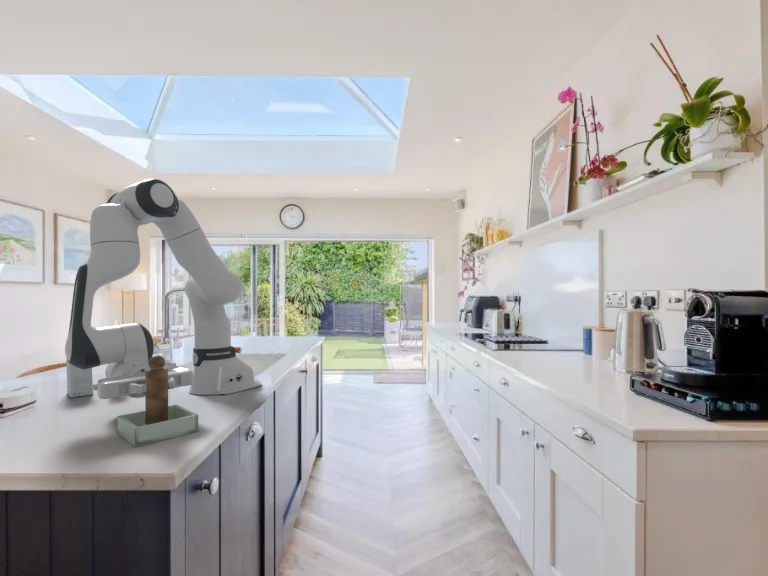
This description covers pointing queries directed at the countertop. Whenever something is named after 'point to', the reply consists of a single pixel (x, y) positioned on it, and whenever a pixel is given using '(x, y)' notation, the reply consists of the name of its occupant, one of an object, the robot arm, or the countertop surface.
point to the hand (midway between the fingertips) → (158, 387)
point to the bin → (156, 426)
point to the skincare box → (78, 381)
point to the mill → (156, 391)
